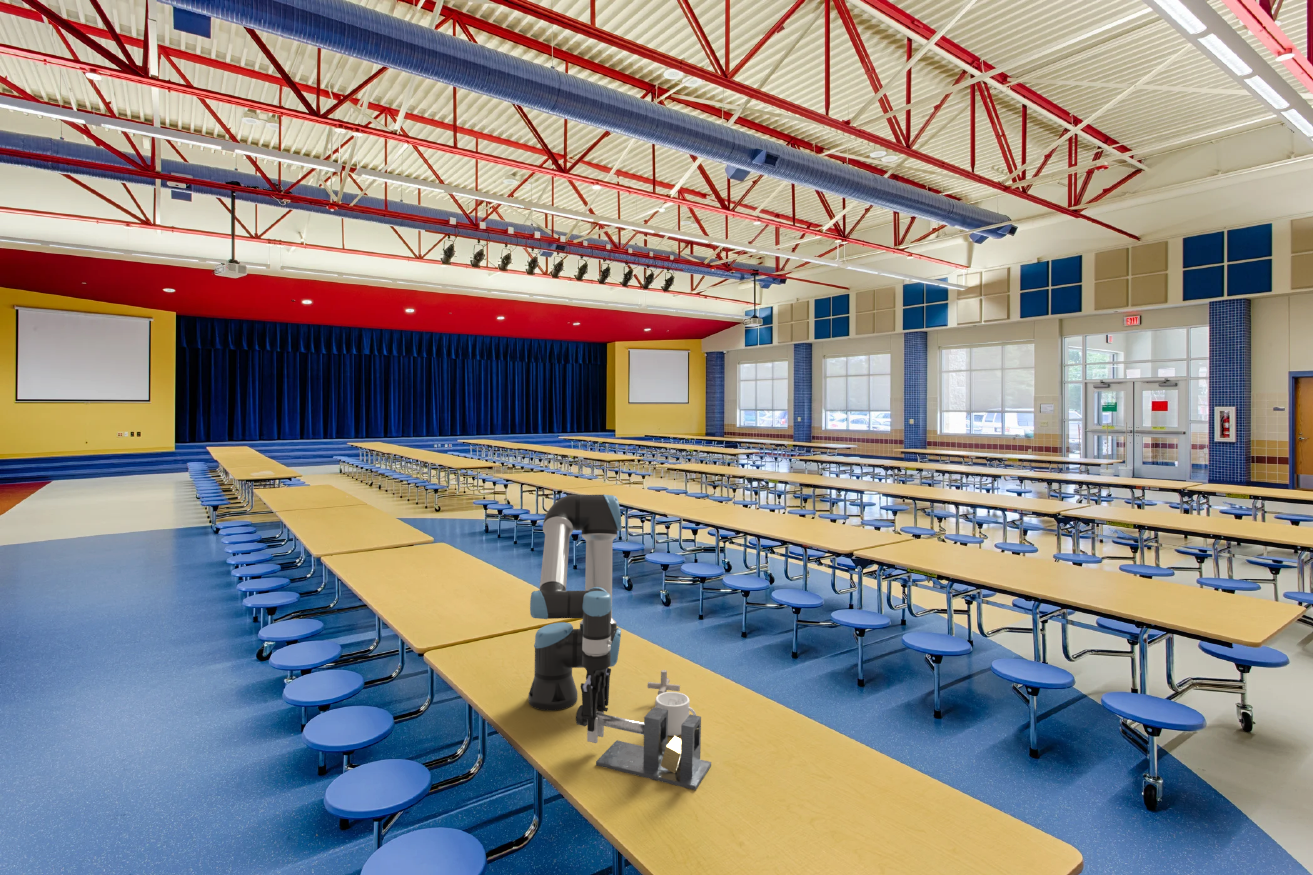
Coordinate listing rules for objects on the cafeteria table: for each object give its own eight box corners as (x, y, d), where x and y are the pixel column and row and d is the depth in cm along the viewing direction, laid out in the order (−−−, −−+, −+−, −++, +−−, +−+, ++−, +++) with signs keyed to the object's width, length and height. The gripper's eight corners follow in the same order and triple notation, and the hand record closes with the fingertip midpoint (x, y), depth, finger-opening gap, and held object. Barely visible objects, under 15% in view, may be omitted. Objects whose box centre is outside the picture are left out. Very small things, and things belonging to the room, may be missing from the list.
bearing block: (595, 765, 168) (596, 712, 167) (616, 743, 179) (617, 694, 178) (695, 790, 157) (696, 734, 157) (711, 765, 168) (712, 713, 168)
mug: (701, 725, 190) (701, 694, 190) (691, 742, 180) (692, 709, 180) (662, 718, 194) (662, 688, 194) (650, 734, 184) (650, 702, 184)
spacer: (660, 765, 164) (666, 746, 163) (668, 754, 170) (674, 735, 169) (674, 773, 163) (680, 753, 162) (682, 762, 168) (688, 743, 167)
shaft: (575, 727, 174) (575, 709, 174) (584, 719, 179) (584, 701, 178) (655, 746, 165) (655, 726, 165) (662, 737, 170) (663, 718, 169)
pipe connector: (676, 711, 199) (677, 678, 199) (644, 707, 201) (644, 675, 201) (681, 697, 209) (682, 666, 208) (651, 694, 211) (651, 663, 210)
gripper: (595, 663, 165) (594, 755, 166) (622, 643, 180) (621, 728, 180) (569, 659, 168) (568, 749, 169) (597, 639, 182) (596, 722, 183)
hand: (595, 738), depth 175 cm, fingers closed on shaft, 3 cm apart
